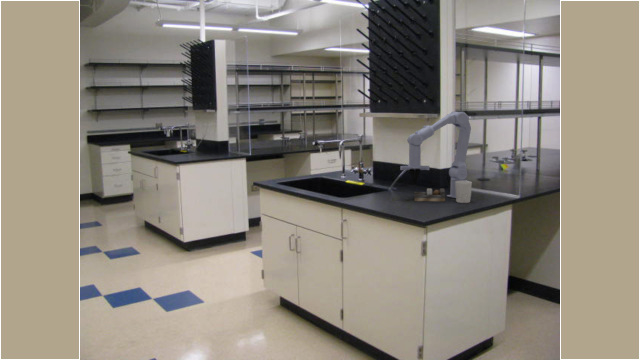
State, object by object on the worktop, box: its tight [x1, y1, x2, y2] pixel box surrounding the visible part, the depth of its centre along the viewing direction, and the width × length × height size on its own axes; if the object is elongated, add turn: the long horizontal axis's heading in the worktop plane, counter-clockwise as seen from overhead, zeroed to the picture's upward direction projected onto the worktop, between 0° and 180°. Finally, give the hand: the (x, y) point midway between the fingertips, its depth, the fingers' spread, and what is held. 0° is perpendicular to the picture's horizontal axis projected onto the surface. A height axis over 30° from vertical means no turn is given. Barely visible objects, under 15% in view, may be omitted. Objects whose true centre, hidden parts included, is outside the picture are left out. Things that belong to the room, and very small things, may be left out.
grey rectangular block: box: [426, 188, 433, 195], centre depth 261 cm, size 2×6×3 cm, turn 169°
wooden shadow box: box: [414, 187, 446, 202], centre depth 261 cm, size 15×9×5 cm, turn 80°
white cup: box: [455, 180, 473, 204], centre depth 253 cm, size 8×8×10 cm
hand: (414, 183), depth 261 cm, fingers closed
